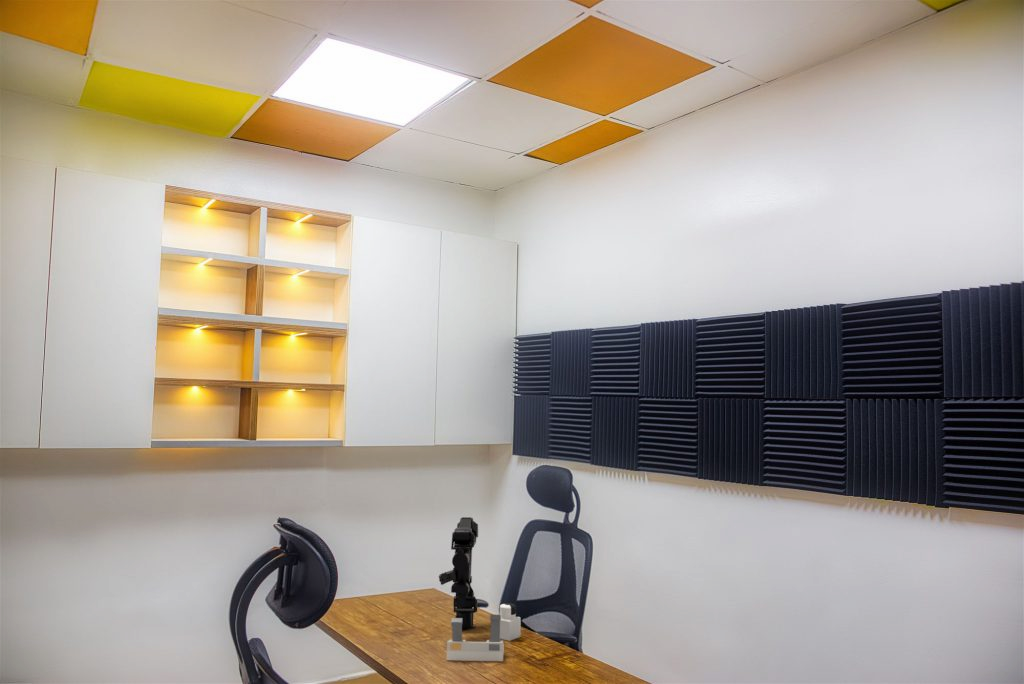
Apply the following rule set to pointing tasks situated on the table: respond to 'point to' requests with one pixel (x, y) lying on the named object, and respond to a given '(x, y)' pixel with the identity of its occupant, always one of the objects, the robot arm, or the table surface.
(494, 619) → the lever
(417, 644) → the table surface
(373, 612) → the table surface
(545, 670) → the table surface
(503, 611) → the medicine bottle
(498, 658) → the switch box
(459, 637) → the lever
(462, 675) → the table surface
